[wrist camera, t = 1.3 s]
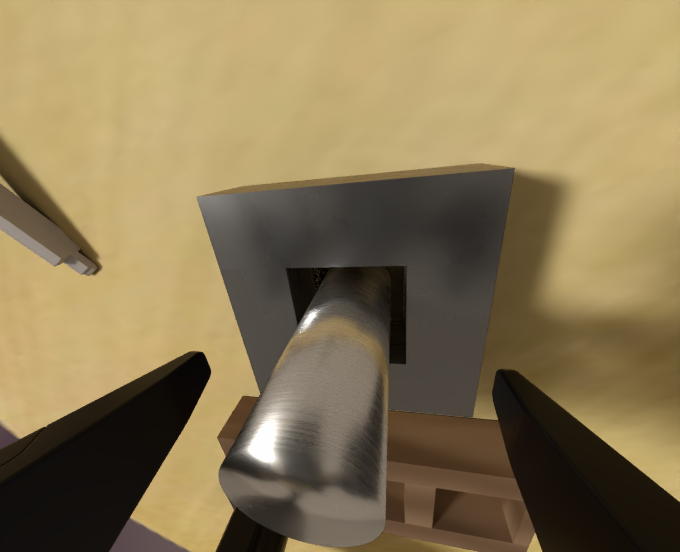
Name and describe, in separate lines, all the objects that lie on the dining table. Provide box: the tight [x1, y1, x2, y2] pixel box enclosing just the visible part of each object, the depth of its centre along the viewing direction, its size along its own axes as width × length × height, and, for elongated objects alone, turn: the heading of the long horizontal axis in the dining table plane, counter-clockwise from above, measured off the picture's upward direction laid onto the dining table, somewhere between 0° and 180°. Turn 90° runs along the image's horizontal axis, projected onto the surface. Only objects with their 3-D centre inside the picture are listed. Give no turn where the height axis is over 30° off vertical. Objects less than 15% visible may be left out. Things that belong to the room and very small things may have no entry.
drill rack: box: [217, 396, 535, 552], centre depth 17 cm, size 8×18×3 cm, turn 96°
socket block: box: [197, 163, 515, 418], centre depth 11 cm, size 10×10×3 cm
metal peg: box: [219, 266, 391, 547], centre depth 9 cm, size 3×3×9 cm
